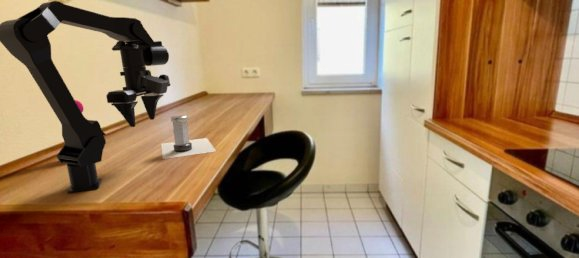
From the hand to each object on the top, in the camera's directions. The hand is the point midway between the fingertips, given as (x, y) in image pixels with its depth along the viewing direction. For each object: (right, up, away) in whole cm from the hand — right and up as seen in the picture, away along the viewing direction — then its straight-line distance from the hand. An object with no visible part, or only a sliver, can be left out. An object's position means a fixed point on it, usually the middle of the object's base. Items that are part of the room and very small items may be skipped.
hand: (143, 123), depth 95 cm
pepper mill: (-25, -11, +11) cm, 29 cm away
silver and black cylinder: (+7, -8, +14) cm, 18 cm away
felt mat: (+7, -8, +17) cm, 20 cm away
